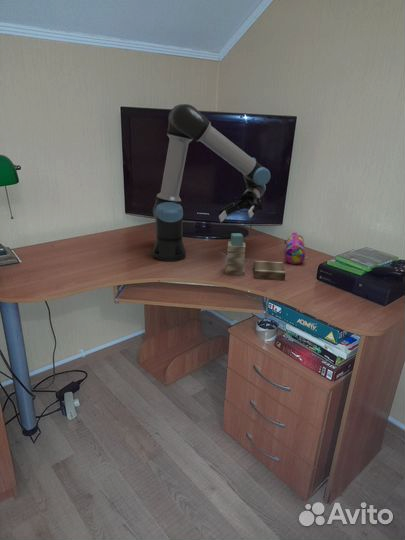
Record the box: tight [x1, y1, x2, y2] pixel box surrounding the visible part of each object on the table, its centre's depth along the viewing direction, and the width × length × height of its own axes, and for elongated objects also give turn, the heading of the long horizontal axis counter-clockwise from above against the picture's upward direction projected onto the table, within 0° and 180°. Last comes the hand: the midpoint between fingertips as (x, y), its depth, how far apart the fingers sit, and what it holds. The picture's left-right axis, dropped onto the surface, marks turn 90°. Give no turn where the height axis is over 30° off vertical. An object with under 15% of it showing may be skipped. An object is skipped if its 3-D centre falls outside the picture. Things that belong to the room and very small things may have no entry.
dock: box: [253, 260, 286, 281], centre depth 159 cm, size 12×12×3 cm
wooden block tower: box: [224, 241, 246, 276], centre depth 159 cm, size 8×7×12 cm
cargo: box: [230, 232, 244, 246], centre depth 156 cm, size 4×4×4 cm
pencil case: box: [283, 232, 306, 265], centre depth 179 cm, size 22×9×9 cm, turn 169°
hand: (234, 217), depth 163 cm, fingers open, 13 cm apart
